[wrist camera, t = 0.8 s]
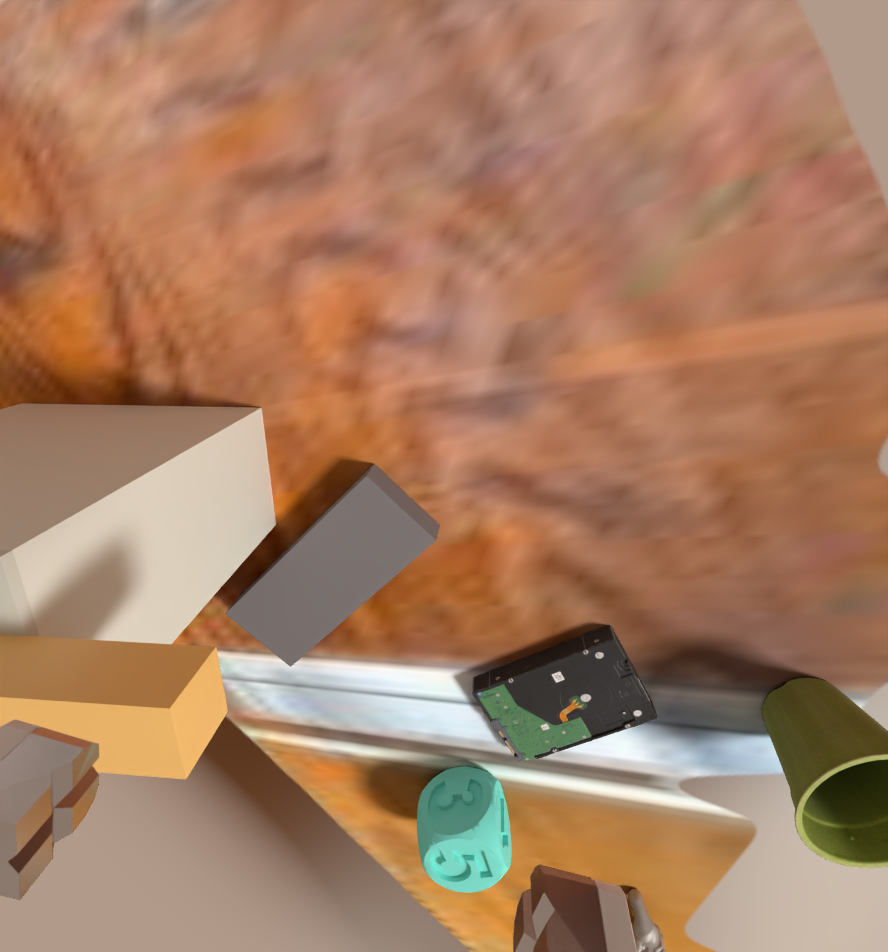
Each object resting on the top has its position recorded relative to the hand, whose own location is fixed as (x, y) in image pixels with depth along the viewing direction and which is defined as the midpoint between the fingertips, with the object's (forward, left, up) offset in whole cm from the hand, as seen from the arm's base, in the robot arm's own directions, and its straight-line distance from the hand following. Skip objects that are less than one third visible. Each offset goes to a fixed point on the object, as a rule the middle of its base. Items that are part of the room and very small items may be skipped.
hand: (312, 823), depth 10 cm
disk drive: (+28, -13, -38) cm, 49 cm away
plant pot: (+44, +3, -37) cm, 58 cm away
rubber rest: (+3, -19, -37) cm, 42 cm away
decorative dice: (+32, -30, -37) cm, 58 cm away
